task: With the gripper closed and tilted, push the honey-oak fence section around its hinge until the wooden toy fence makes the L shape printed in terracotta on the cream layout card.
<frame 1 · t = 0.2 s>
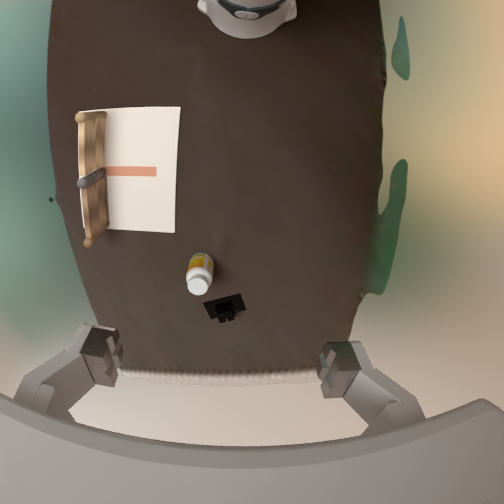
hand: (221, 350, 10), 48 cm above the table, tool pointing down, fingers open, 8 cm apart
fixed fence section: (102, 171, 51), resting on layout card
layout card: (124, 170, 52), on the table
folding fence section: (91, 141, 43), point 6 cm above the table, hinge at 0.0°
supplement bottle: (201, 262, 64), on the table
black blocky piece: (225, 304, 70), on the table
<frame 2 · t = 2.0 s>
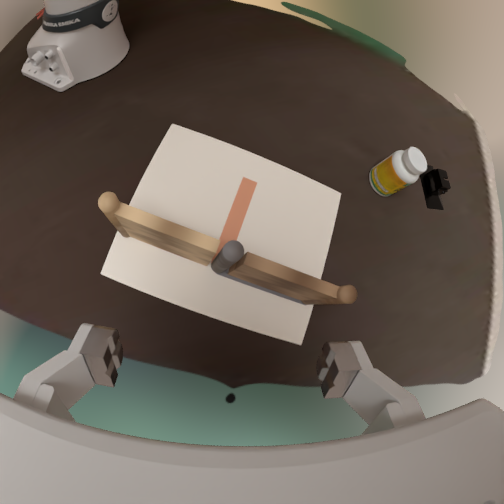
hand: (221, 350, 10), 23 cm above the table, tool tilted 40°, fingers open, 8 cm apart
fixed fence section: (218, 265, 34), resting on layout card
layout card: (231, 228, 35), on the table
folding fence section: (160, 234, 28), point 6 cm above the table, hinge at 0.0°
supplement bottle: (379, 182, 43), on the table
black blocky piece: (428, 186, 47), on the table
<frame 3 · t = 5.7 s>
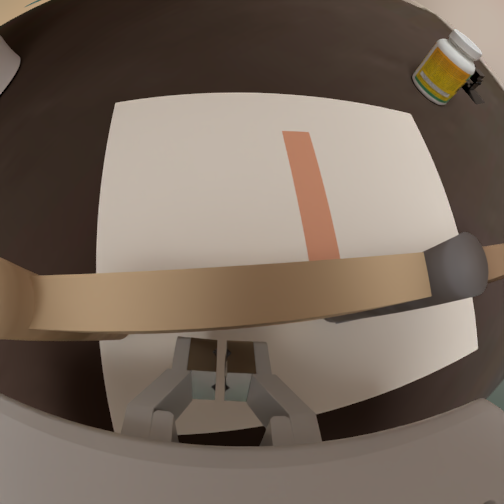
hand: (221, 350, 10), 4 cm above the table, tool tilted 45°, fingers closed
fixed fence section: (333, 306, 16), resting on layout card
layout card: (315, 225, 17), on the table
folding fence section: (205, 312, 9), point 6 cm above the table, hinge at 1.6°, touching gripper
supplement bottle: (427, 91, 25), on the table
black blocky piece: (460, 83, 30), on the table
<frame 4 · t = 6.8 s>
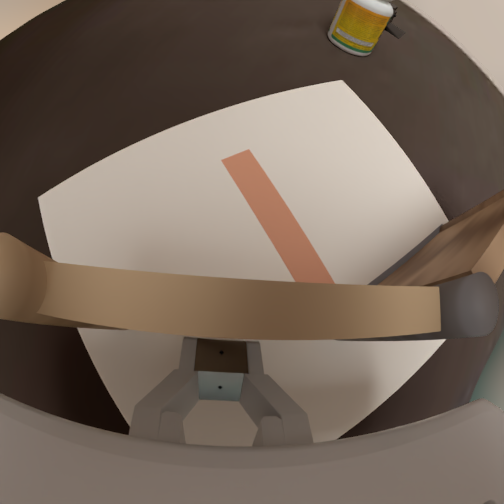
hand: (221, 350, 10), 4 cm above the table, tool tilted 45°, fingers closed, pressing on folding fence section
fixed fence section: (340, 325, 15), resting on layout card
layout card: (293, 251, 16), on the table
folding fence section: (215, 317, 9), point 6 cm above the table, hinge at 32.6°, touching gripper
supplement bottle: (348, 45, 25), on the table
black blocky piece: (374, 22, 30), on the table
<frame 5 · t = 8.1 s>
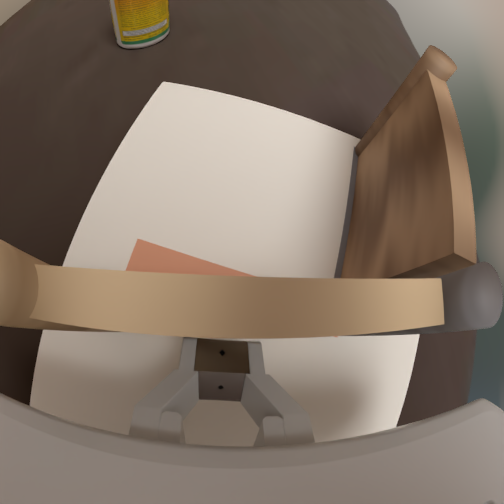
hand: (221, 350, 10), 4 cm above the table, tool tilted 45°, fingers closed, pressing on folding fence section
fixed fence section: (341, 320, 15), resting on layout card
layout card: (254, 296, 15), on the table
folding fence section: (212, 316, 9), point 6 cm above the table, hinge at 74.4°, touching gripper
supplement bottle: (143, 38, 20), on the table
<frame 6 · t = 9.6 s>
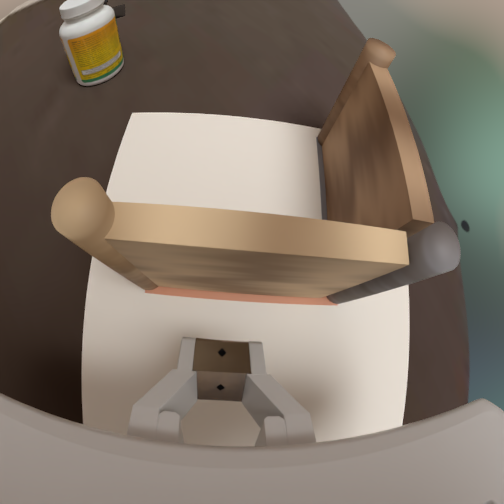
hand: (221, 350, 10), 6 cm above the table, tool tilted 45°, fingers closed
fixed fence section: (337, 290, 18), resting on layout card
layout card: (260, 287, 18), on the table
folding fence section: (233, 262, 12), point 6 cm above the table, hinge at 90.2°
supplement bottle: (101, 72, 22), on the table
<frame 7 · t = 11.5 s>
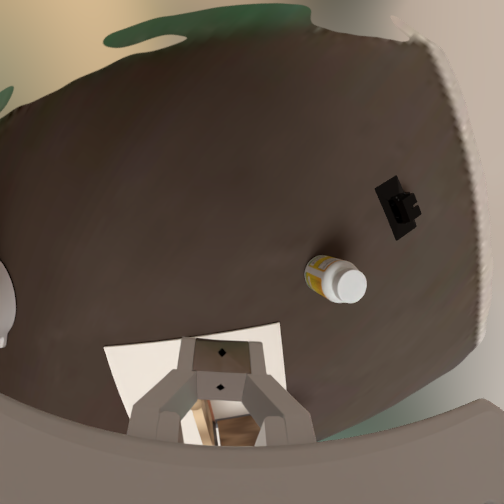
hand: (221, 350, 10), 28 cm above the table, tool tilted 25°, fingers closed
fixed fence section: (210, 424, 39), resting on layout card
layout card: (203, 400, 39), on the table
folding fence section: (201, 411, 34), point 6 cm above the table, hinge at 90.2°
supplement bottle: (319, 273, 41), on the table
black blocky piece: (394, 208, 43), on the table
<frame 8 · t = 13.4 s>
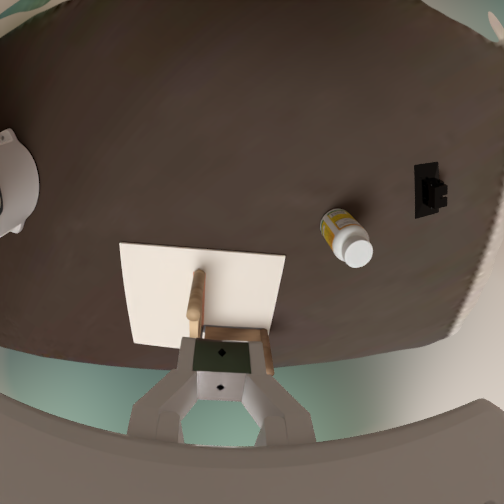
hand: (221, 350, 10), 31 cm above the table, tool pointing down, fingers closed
fixed fence section: (198, 328, 50), resting on layout card
layout card: (198, 305, 48), on the table
folding fence section: (196, 318, 42), point 6 cm above the table, hinge at 90.2°
supplement bottle: (335, 223, 43), on the table
black blocky piece: (425, 188, 41), on the table
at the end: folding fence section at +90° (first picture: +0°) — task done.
